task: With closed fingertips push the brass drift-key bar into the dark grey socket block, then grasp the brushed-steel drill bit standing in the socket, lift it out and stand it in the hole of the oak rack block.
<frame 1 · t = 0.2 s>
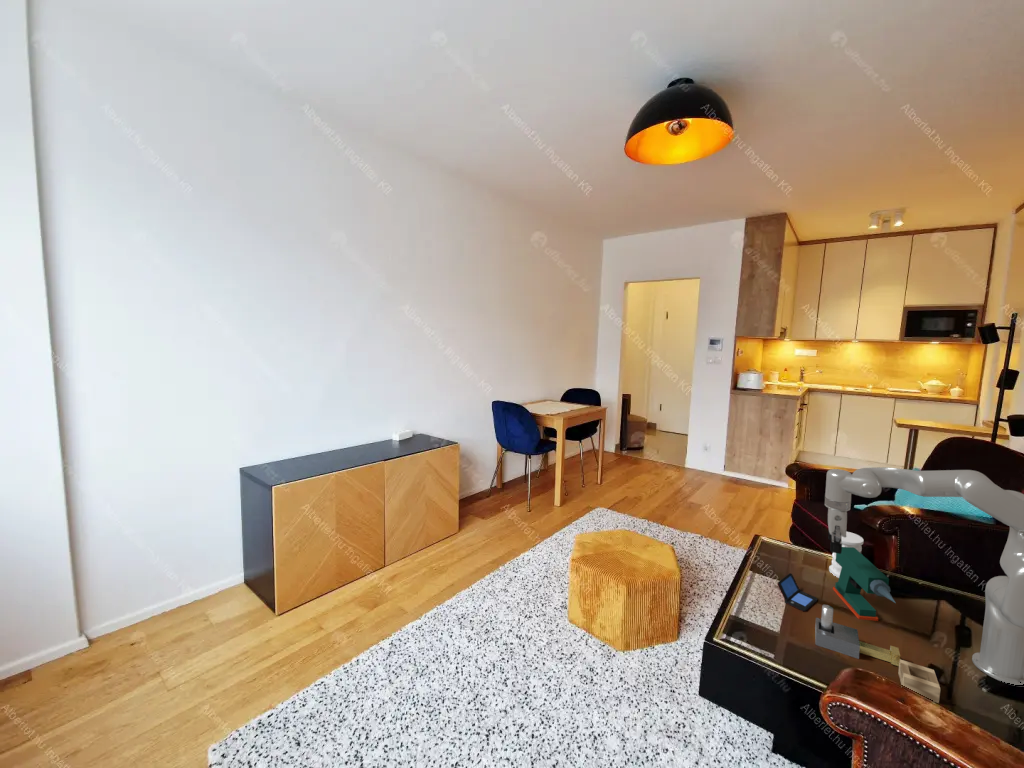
hand: (834, 546, 157), 31 cm above the table, fingers open, 9 cm apart
drill bit: (825, 640, 152), resting in socket block
handheld game console: (796, 600, 174), on the table
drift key: (875, 649, 144), point 2 cm above the table, slide at 0.0 cm
rack: (917, 687, 131), on the table
decorative container: (845, 574, 189), on the table
power tool: (865, 616, 163), on the table
socket block: (835, 643, 150), on the table
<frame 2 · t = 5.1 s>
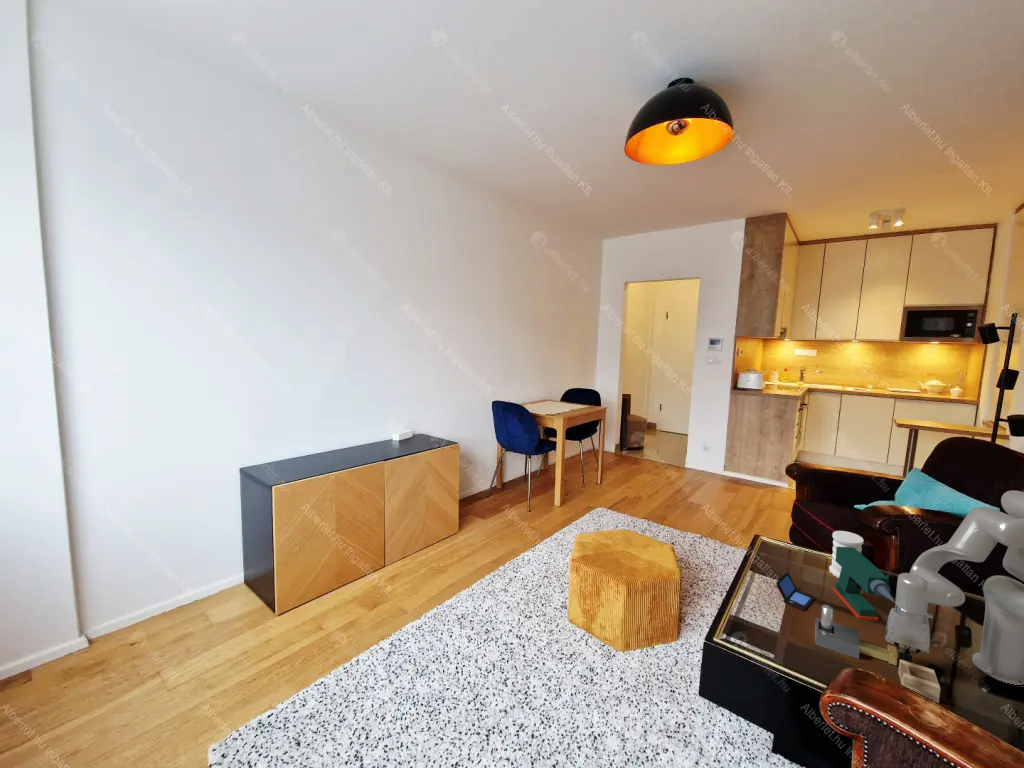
hand: (904, 662, 140), 1 cm above the table, fingers closed
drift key: (872, 648, 144), point 2 cm above the table, slide at 0.7 cm, touching gripper
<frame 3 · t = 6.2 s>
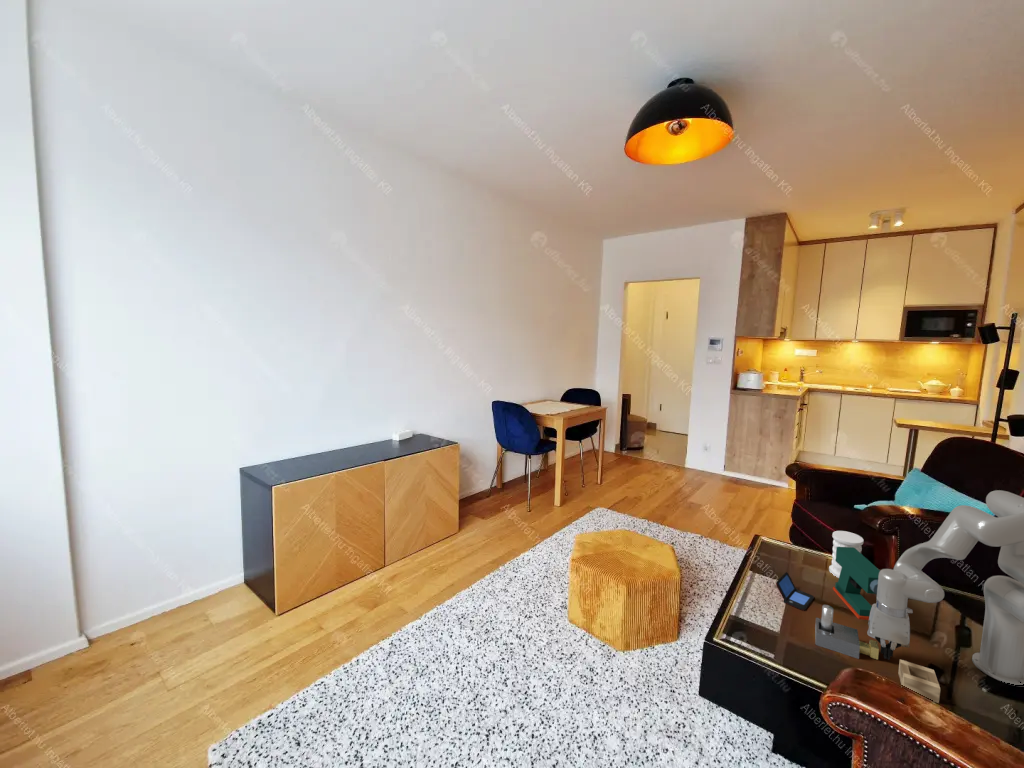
hand: (886, 656, 142), 1 cm above the table, fingers closed
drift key: (855, 643, 147), point 2 cm above the table, slide at 5.4 cm, touching gripper
everything else where it was.
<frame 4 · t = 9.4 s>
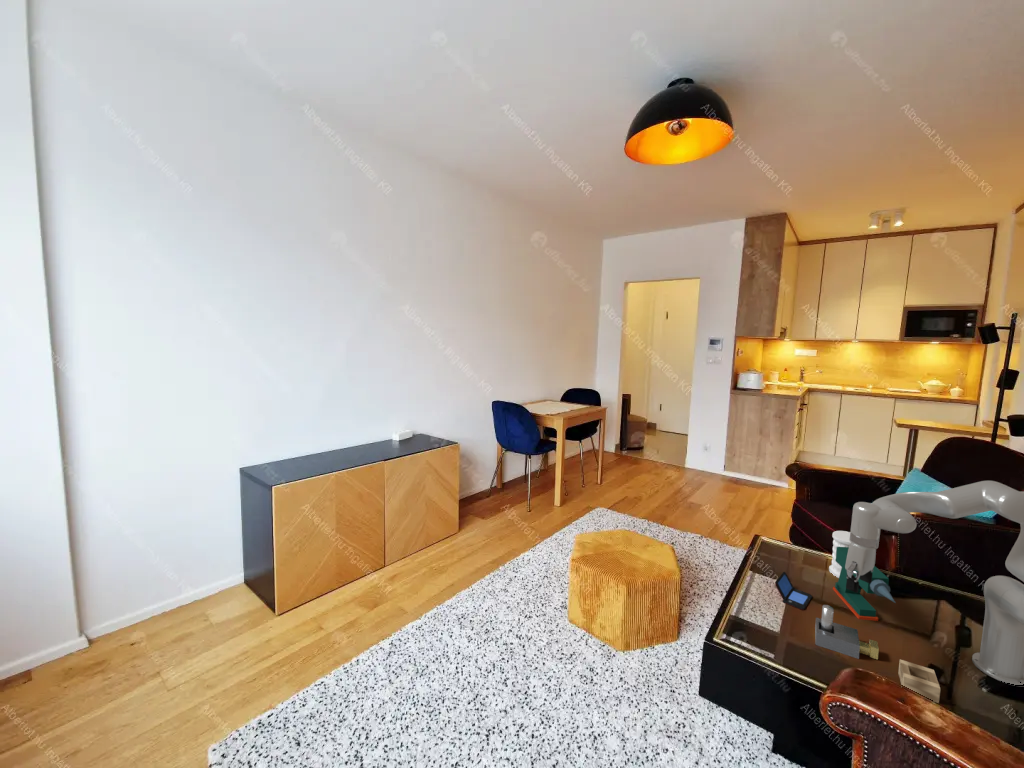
hand: (858, 585, 144), 24 cm above the table, fingers open, 9 cm apart
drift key: (854, 643, 147), point 2 cm above the table, slide at 5.4 cm
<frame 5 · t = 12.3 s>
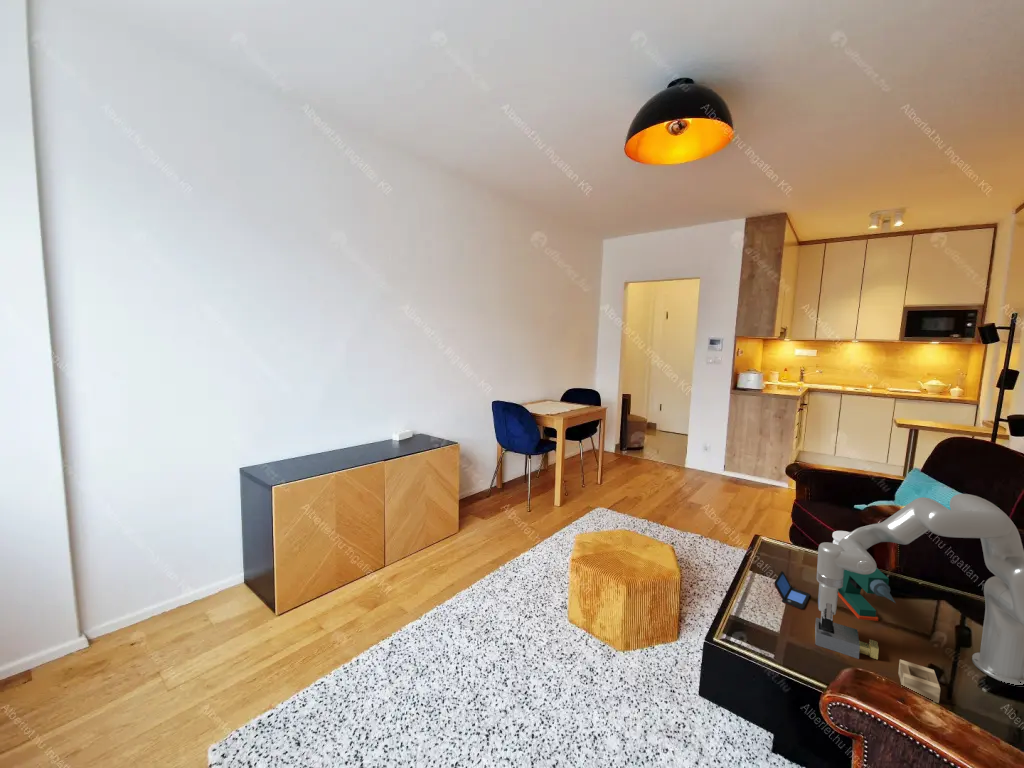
hand: (826, 624, 151), 6 cm above the table, fingers closed on drill bit, 3 cm apart
drill bit: (825, 640, 152), resting in socket block, touching gripper
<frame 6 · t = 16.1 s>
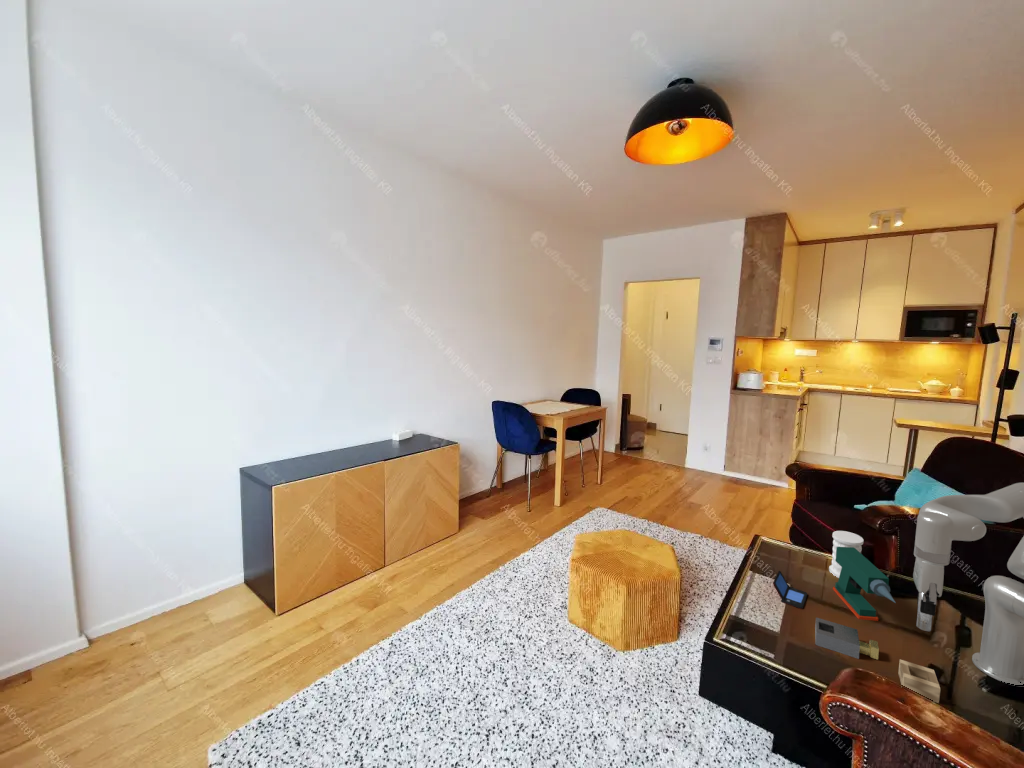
hand: (925, 609, 128), 27 cm above the table, fingers closed on drill bit, 3 cm apart
drill bit: (923, 627, 129), point 21 cm above the table, touching gripper
when the fingers open (8 cm above the table, at t = 19.9 s): drill bit drops 1 cm, resting in rack.
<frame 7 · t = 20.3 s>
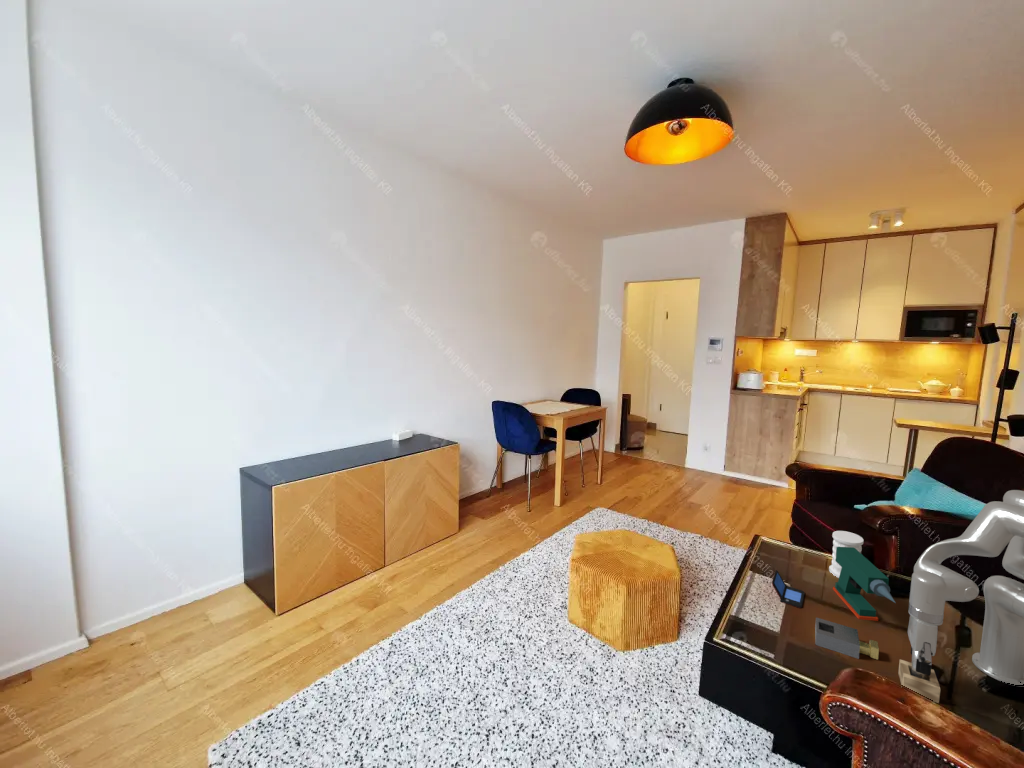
hand: (920, 664, 130), 8 cm above the table, fingers open, 7 cm apart
drill bit: (917, 687, 132), resting in rack
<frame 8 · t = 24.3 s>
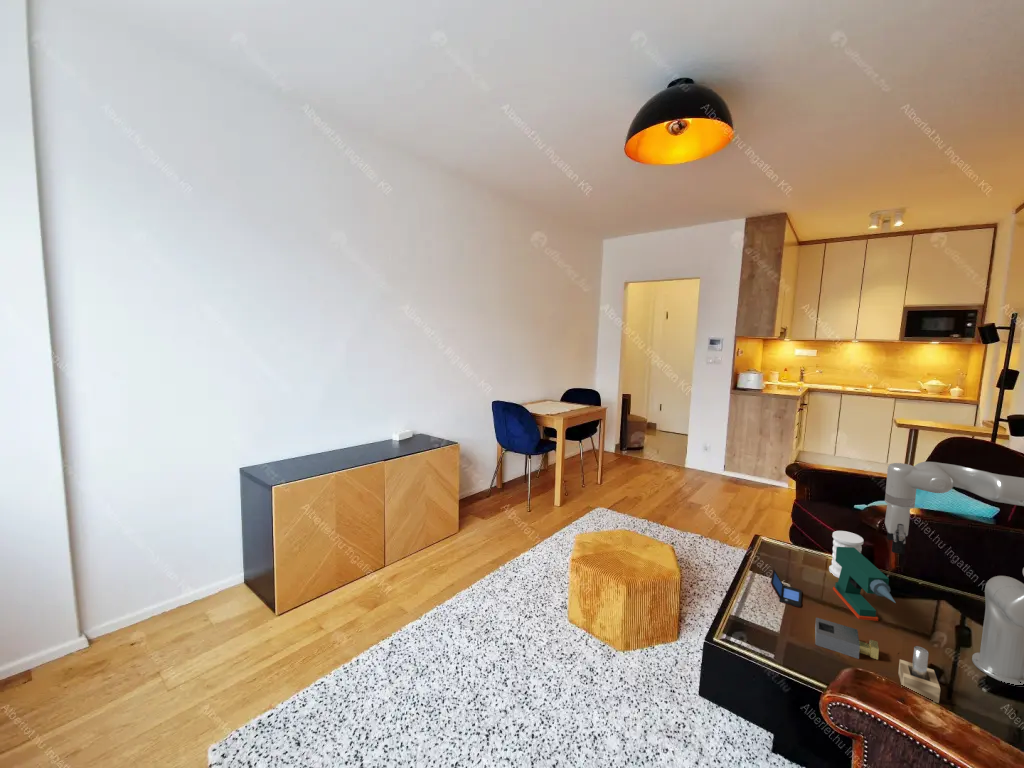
hand: (895, 546, 145), 36 cm above the table, fingers open, 9 cm apart
at the end: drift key slide at 5.4 cm; drill bit 0.0 cm off-centre on the rack, point 0.0 cm above the rack's base; drill bit tilted 0° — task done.
